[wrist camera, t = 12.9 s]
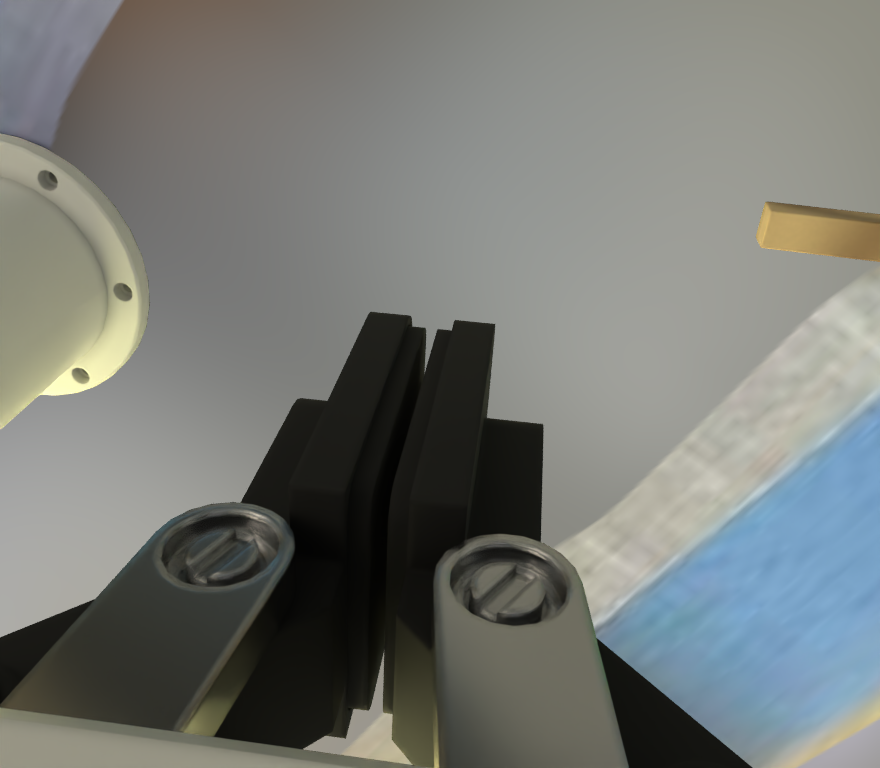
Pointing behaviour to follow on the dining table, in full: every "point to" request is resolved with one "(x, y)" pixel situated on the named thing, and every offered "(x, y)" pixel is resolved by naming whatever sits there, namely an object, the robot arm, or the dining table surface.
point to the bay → (820, 231)
